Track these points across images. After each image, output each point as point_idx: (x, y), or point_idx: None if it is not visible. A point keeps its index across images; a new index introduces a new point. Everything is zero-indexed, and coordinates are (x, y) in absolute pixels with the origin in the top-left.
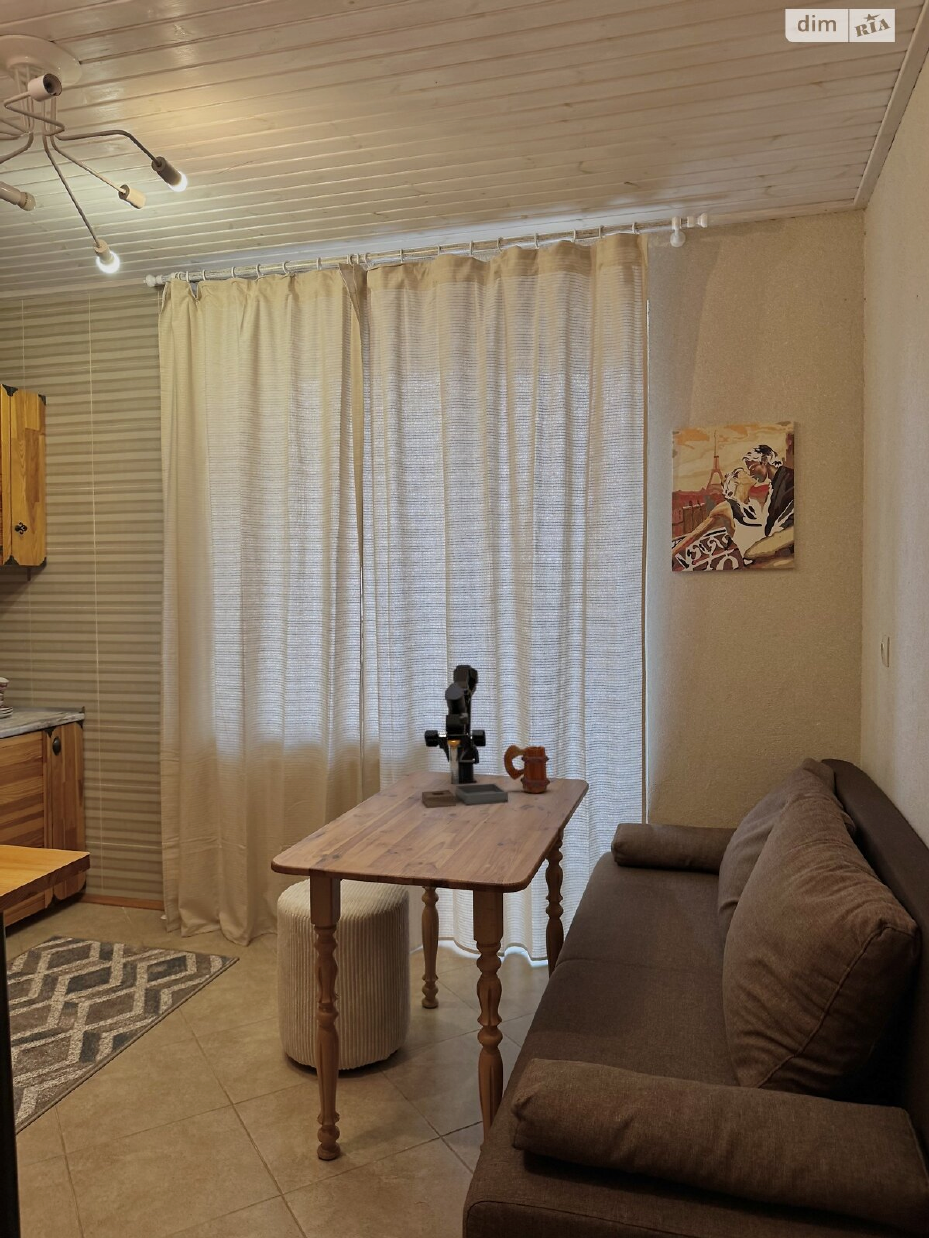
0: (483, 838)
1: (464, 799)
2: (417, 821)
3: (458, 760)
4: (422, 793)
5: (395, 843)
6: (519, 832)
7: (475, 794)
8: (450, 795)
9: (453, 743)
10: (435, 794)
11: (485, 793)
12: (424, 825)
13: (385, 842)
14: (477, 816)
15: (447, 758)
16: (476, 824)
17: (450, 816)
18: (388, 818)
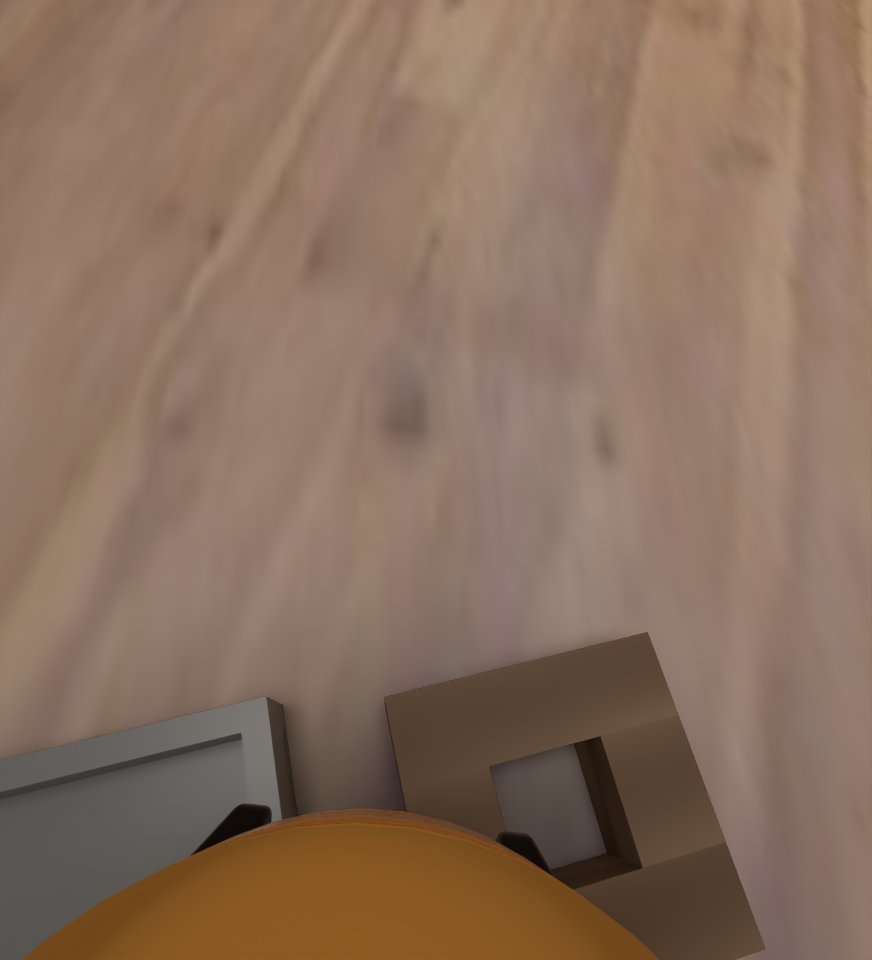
0: (271, 16)
1: (286, 782)
2: (620, 295)
3: (268, 812)
4: (747, 915)
5: (648, 15)
6: (78, 61)
7: (160, 734)
8: (429, 712)
9: (363, 809)
10: (596, 876)
11: (36, 778)
12: (566, 220)
13: (693, 30)
14: (240, 355)
15: (539, 854)
16: (273, 201)
17: (423, 376)
18: (818, 379)
